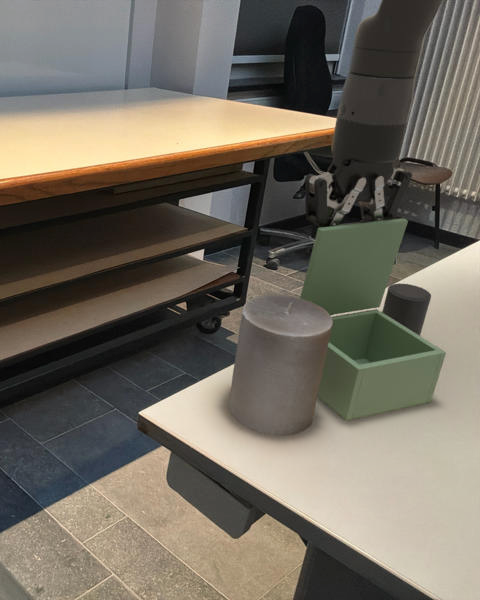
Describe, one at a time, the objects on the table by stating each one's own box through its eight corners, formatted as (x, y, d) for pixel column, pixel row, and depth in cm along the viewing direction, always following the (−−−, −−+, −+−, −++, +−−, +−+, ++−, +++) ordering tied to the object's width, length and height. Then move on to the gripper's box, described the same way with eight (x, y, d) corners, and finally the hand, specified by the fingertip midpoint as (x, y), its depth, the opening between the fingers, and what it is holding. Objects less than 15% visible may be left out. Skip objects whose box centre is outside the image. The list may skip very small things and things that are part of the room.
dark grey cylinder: (396, 334, 99) (410, 281, 95) (424, 352, 94) (440, 297, 91) (366, 339, 97) (379, 285, 93) (393, 358, 93) (408, 302, 89)
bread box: (429, 407, 82) (446, 352, 79) (344, 426, 79) (358, 369, 75) (364, 359, 92) (376, 308, 89) (286, 374, 88) (295, 322, 85)
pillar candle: (283, 387, 85) (303, 280, 79) (328, 434, 77) (355, 318, 70) (212, 398, 83) (227, 288, 76) (251, 447, 75) (272, 329, 68)
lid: (408, 220, 82) (384, 207, 85) (322, 230, 78) (300, 215, 81) (379, 307, 88) (358, 291, 92) (298, 320, 84) (279, 303, 88)
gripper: (342, 125, 71) (313, 271, 79) (447, 118, 76) (411, 258, 83) (299, 111, 78) (276, 248, 85) (398, 106, 82) (369, 237, 90)
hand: (343, 252), depth 84 cm, fingers closed on lid, 5 cm apart
